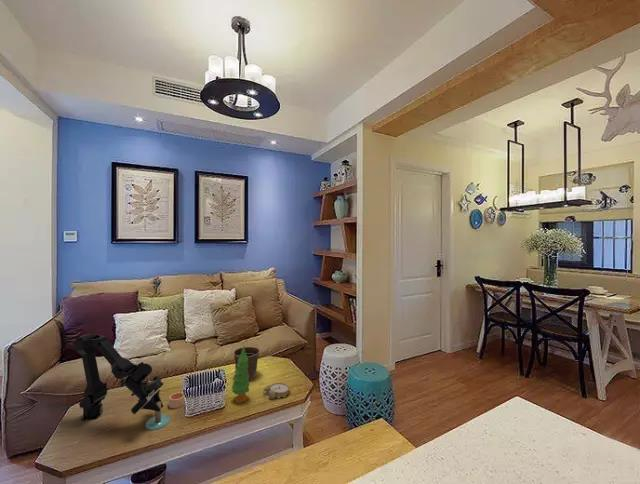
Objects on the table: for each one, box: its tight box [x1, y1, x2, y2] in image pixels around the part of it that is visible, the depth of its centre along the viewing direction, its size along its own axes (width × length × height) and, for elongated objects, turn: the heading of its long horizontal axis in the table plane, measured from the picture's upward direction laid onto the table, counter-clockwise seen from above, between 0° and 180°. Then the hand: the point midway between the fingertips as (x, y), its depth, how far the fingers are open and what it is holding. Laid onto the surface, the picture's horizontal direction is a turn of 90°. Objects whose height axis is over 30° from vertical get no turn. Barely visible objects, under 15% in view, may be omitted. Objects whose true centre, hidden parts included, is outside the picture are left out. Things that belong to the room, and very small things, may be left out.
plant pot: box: [232, 346, 261, 381], centre depth 180 cm, size 16×16×16 cm
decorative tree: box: [231, 346, 250, 404], centre depth 155 cm, size 10×9×30 cm
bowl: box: [168, 391, 185, 410], centre depth 149 cm, size 7×7×4 cm
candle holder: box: [262, 382, 292, 400], centre depth 161 cm, size 11×5×15 cm
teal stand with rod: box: [145, 401, 171, 431], centre depth 134 cm, size 10×10×10 cm
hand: (161, 408), depth 134 cm, fingers closed on teal stand with rod, 2 cm apart
